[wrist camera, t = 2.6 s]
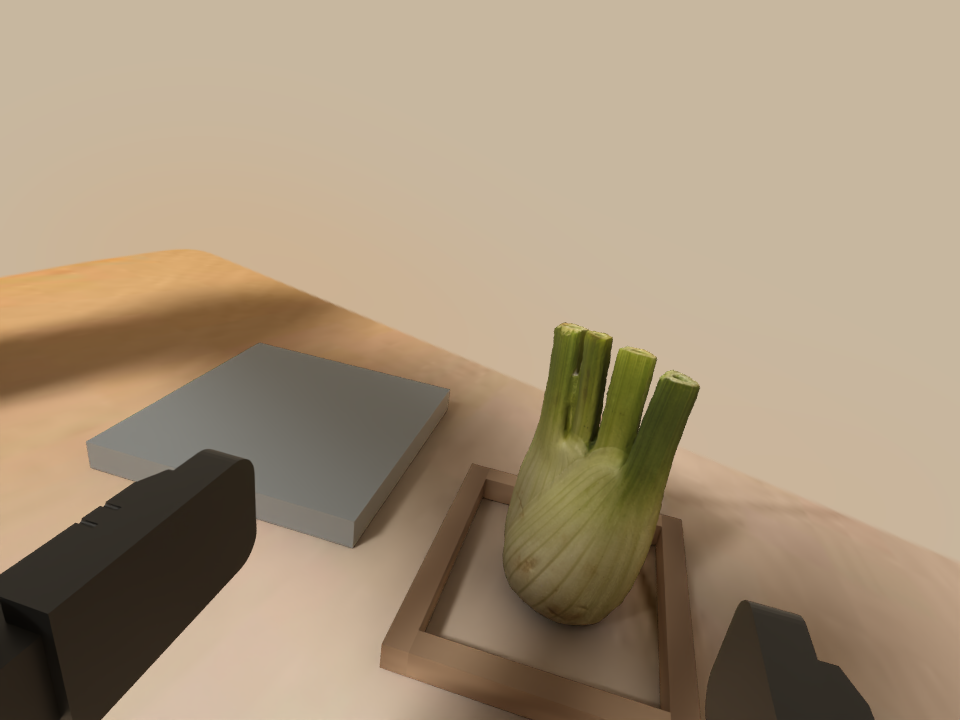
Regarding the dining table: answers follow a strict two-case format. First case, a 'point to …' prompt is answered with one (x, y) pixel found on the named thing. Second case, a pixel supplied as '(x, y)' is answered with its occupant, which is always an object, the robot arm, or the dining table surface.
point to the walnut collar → (523, 689)
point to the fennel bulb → (592, 478)
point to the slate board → (287, 435)
